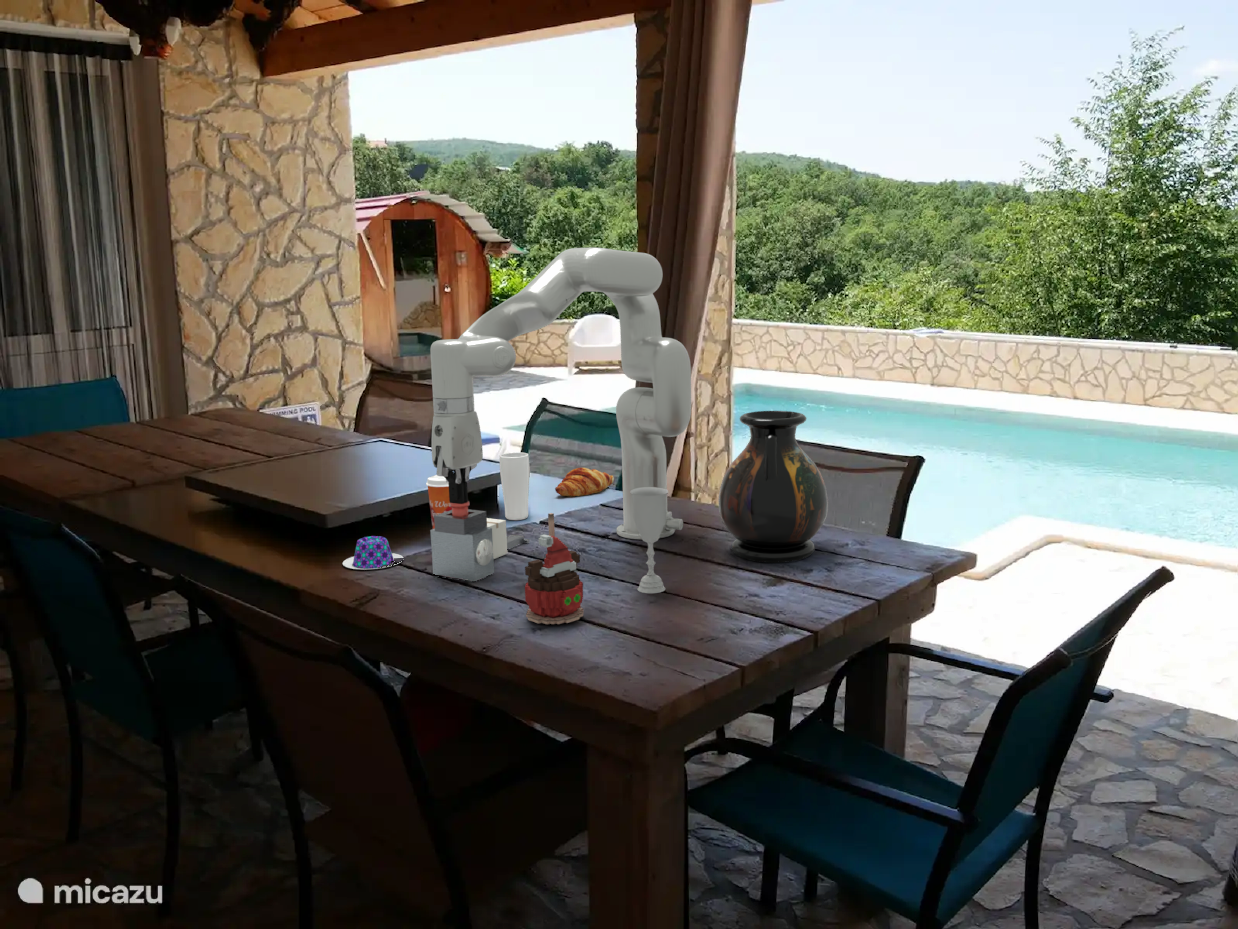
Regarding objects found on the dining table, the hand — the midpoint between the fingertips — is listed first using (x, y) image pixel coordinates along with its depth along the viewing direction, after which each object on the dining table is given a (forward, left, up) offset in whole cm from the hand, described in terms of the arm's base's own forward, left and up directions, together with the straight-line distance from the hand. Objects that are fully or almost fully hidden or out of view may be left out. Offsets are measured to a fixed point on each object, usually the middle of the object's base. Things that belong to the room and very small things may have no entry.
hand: (458, 502), depth 204 cm
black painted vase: (-48, -38, -14) cm, 63 cm away
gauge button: (0, 0, -5) cm, 5 cm away
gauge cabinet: (0, 0, -14) cm, 14 cm away
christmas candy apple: (-30, +14, -14) cm, 36 cm away
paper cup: (+19, -19, -14) cm, 31 cm away
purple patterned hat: (+22, +1, -15) cm, 26 cm away
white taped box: (+4, -13, -14) cm, 19 cm away
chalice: (-37, -7, -14) cm, 40 cm away
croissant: (+17, -74, -15) cm, 77 cm away
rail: (+4, -17, -14) cm, 22 cm away
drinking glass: (+17, -42, -14) cm, 48 cm away
